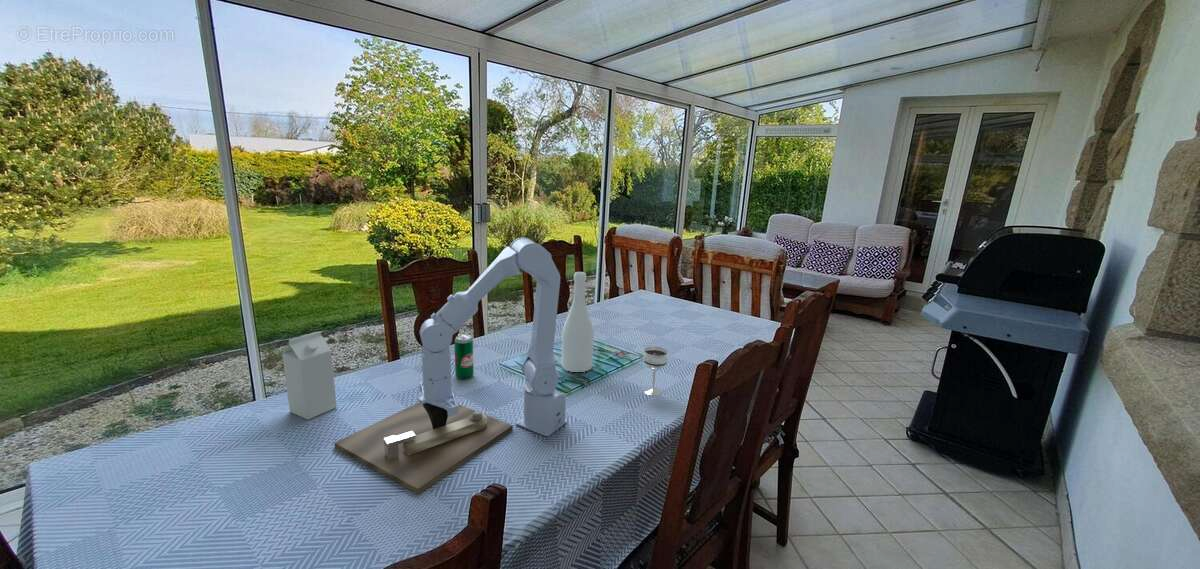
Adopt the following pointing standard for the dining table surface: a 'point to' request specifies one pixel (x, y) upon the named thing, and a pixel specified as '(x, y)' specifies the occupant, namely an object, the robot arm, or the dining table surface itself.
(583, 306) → the wine bottle
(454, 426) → the swing bar
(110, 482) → the dining table surface
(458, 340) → the soda can
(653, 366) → the wineglass
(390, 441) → the block
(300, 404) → the milk carton
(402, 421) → the base board
